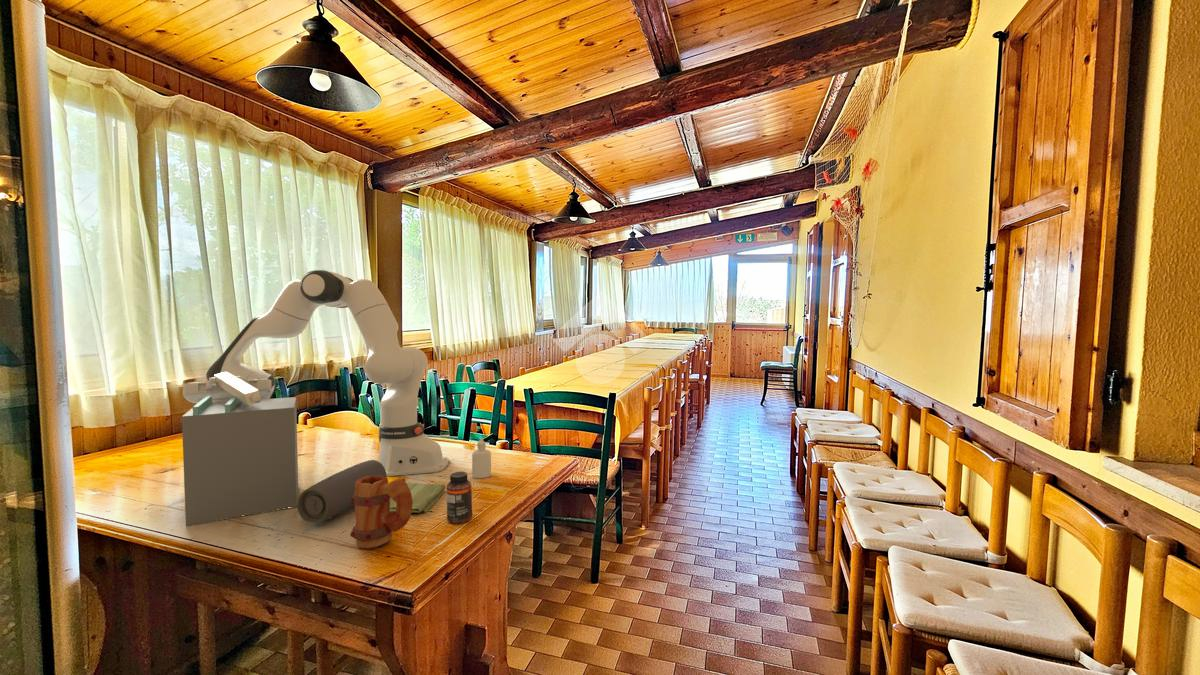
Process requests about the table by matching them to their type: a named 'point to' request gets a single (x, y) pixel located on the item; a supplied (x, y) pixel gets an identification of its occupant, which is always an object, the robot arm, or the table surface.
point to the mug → (379, 509)
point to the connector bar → (238, 388)
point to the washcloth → (422, 496)
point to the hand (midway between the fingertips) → (226, 379)
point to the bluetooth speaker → (335, 492)
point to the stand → (239, 458)
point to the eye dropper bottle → (481, 461)
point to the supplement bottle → (459, 498)
